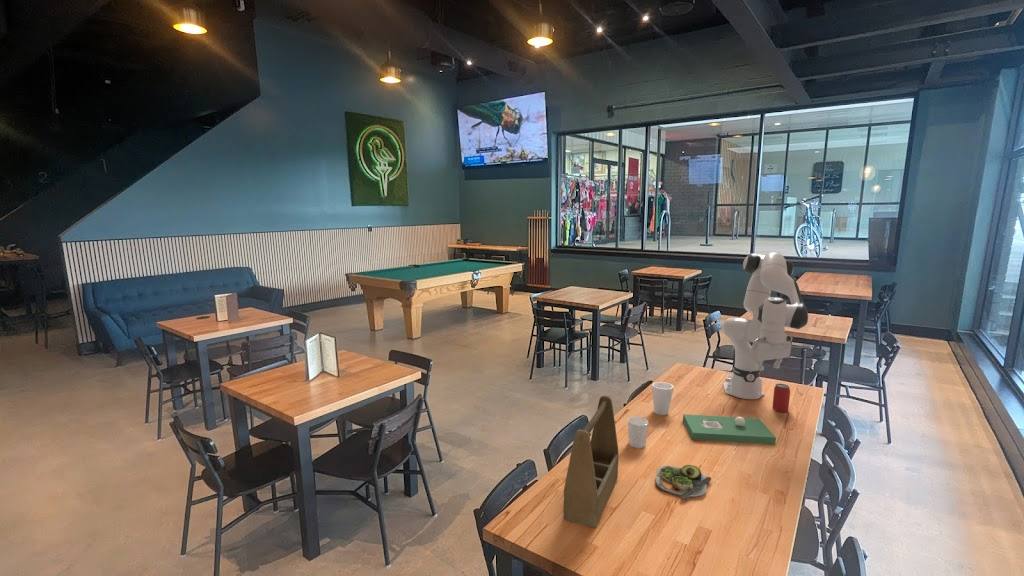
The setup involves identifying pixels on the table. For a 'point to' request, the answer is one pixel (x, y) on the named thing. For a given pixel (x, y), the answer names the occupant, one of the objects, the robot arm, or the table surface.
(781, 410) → the beer can
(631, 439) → the white cup
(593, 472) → the caddy
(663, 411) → the foam cup
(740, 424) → the ball
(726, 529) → the table surface
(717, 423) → the green rectangular slab
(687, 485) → the avocado toast plate
